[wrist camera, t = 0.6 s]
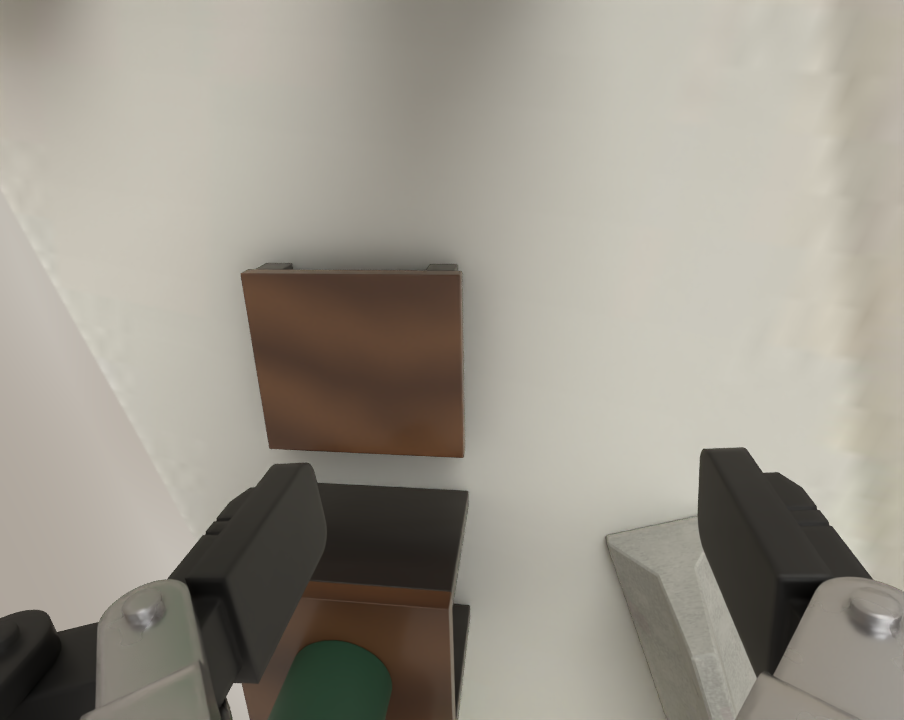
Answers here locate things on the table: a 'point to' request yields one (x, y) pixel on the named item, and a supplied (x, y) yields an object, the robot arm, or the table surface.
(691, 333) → the table surface
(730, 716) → the barrier
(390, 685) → the bottle
